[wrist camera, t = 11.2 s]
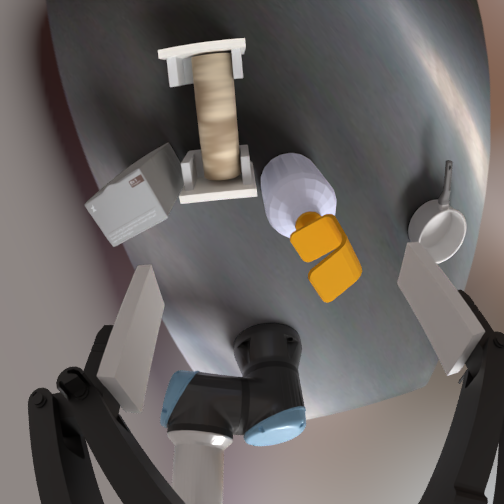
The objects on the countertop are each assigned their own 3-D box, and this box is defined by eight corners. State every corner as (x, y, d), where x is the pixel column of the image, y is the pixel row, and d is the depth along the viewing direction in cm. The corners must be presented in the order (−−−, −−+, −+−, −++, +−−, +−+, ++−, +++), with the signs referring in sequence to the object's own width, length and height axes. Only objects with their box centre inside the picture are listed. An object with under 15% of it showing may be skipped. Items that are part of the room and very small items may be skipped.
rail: (223, 166, 39) (248, 171, 37) (197, 176, 37) (221, 183, 34) (213, 57, 31) (240, 52, 28) (183, 59, 28) (208, 53, 26)
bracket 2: (252, 167, 44) (257, 196, 35) (192, 173, 44) (180, 203, 35) (250, 139, 41) (254, 159, 32) (188, 145, 41) (174, 168, 32)
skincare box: (147, 199, 46) (114, 255, 32) (124, 162, 42) (78, 206, 29) (192, 175, 44) (172, 225, 31) (169, 135, 40) (135, 168, 27)
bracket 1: (177, 55, 34) (157, 50, 25) (243, 47, 34) (244, 38, 25) (181, 85, 36) (162, 88, 27) (245, 77, 36) (248, 77, 27)
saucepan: (455, 149, 42) (474, 159, 37) (447, 241, 53) (461, 256, 48) (405, 154, 43) (422, 165, 38) (402, 253, 54) (414, 270, 49)
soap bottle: (248, 172, 44) (259, 273, 24) (301, 141, 42) (363, 216, 21) (278, 216, 48) (308, 333, 28) (328, 188, 46) (393, 290, 26)
